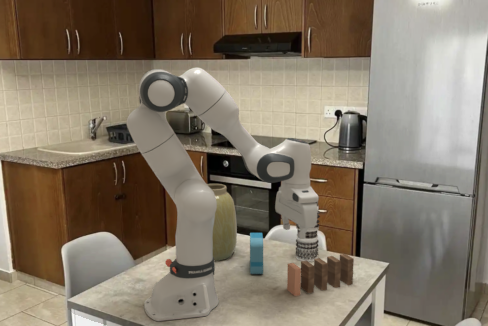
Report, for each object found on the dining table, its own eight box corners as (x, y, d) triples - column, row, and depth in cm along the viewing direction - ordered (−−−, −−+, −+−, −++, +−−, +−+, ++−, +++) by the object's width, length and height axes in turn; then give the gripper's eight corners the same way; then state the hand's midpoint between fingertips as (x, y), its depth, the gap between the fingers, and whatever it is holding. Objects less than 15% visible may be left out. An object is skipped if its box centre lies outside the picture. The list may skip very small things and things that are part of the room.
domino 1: (294, 296, 156) (295, 269, 154) (287, 289, 160) (287, 263, 158) (300, 295, 156) (300, 268, 155) (292, 288, 161) (293, 262, 159)
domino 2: (308, 293, 157) (308, 267, 156) (300, 287, 162) (301, 261, 160) (313, 292, 158) (314, 266, 157) (305, 286, 163) (306, 260, 161)
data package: (263, 275, 171) (263, 242, 169) (250, 275, 171) (250, 242, 169) (262, 262, 183) (262, 231, 180) (249, 262, 183) (249, 231, 180)
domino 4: (334, 287, 161) (335, 262, 160) (326, 282, 166) (327, 256, 164) (339, 286, 162) (340, 261, 160) (331, 280, 167) (332, 255, 165)
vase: (188, 249, 196) (186, 183, 191) (229, 244, 201) (229, 180, 196) (197, 265, 180) (195, 193, 175) (242, 260, 185) (242, 190, 180)
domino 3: (321, 290, 159) (322, 264, 158) (313, 284, 164) (314, 259, 162) (326, 289, 160) (327, 263, 158) (318, 283, 165) (319, 258, 163)
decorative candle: (292, 260, 184) (293, 195, 179) (297, 251, 193) (298, 189, 188) (316, 263, 182) (318, 197, 177) (320, 254, 190) (322, 191, 185)
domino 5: (347, 285, 163) (348, 259, 162) (338, 279, 168) (339, 254, 166) (352, 284, 164) (353, 258, 162) (343, 278, 169) (344, 253, 167)
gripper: (271, 184, 160) (269, 225, 162) (303, 199, 141) (301, 245, 144) (288, 182, 162) (286, 223, 165) (321, 197, 144) (319, 242, 147)
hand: (293, 233), depth 154 cm, fingers open, 8 cm apart
